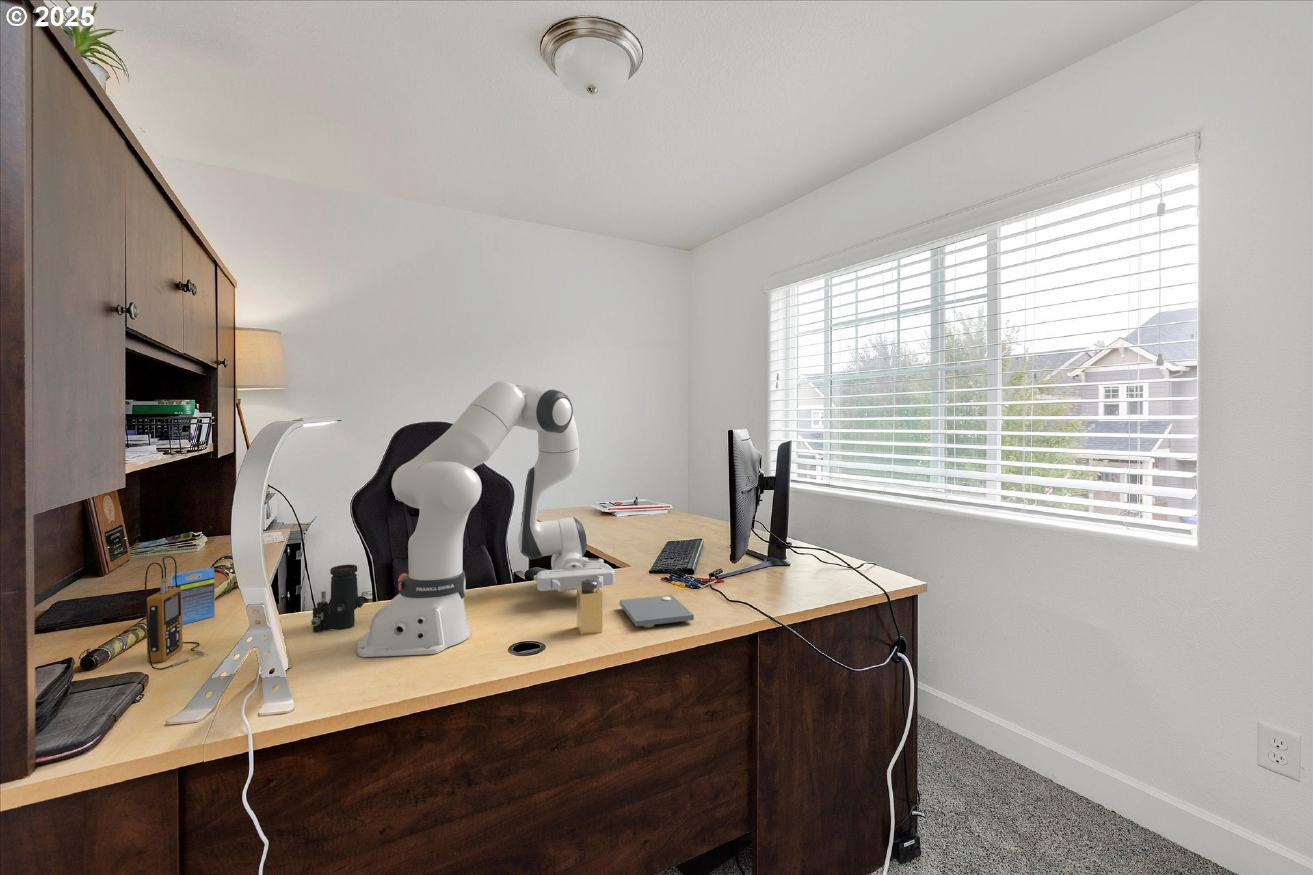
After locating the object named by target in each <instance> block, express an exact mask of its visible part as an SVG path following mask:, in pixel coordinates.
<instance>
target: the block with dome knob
mask: <svg viewBox="0 0 1313 875" xmlns="http://www.w3.org/2000/svg"><path fill="white" fill-rule="evenodd" d="M603 626H604V624H603V592H602V590H601V588H599V587H597V581H596V580H584V581H582V582H581V588H577V589H576V628H577V631H578V632H579V635H590V634H592V635H593V634H599V633H603V632H604V631H603Z"/></svg>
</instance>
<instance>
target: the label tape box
mask: <svg viewBox="0 0 1313 875" xmlns="http://www.w3.org/2000/svg"><path fill="white" fill-rule="evenodd" d="M192 576H196V577H195V578H190V577H192ZM197 576H200V577H197ZM187 578H190V579H187ZM170 581H171V583H170V584H171V586H169V587H168V588H176V584H175V574H171V575H170ZM215 581H216V577H215V567H214V566H212V567H208V568H203V569H197V570H193V571H192V570H191V571H186V572H181V573H177V587H178V588H181V589H182V626H184V625H187V624H188V625H189V624H191V623H194V622H198V621H202V620H206V619H209V618H212V617H213V618H214V617H215V615H216V614H215V612H216V611H215V610H216V609H215V607H216V604H215V603H216V602H215V600H216V598H215V596H216V594H215V593H216V591H215V590H216V588H215V587H216V582H215Z"/></svg>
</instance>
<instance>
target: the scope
mask: <svg viewBox="0 0 1313 875" xmlns="http://www.w3.org/2000/svg"><path fill="white" fill-rule="evenodd" d="M357 572H358V566H357V565H356V564H342V565H335V566H333V567H331V568H330V575H332V576H331V577H330V578H331V579H330V580H331V581H330V599H329V601H327V591H326V590H322V591H321V592H320V593H321V595H320V601H318V603H316V607H313V608H312V618H311V620H310V626H312V633H314V634H315V633H322V631H323V632H324V631H334V630H335V631H336V630H337V631H342V630H349V629H351V628H353V627H355V626H356V625H355V623H356V622H355V616H356V615H355V614H356V613H355V610H357V609H359V608H361V609H362V607H363V605H364V599H363V598H362V597H359V592H358V574H356V573H357Z"/></svg>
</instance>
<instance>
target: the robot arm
mask: <svg viewBox="0 0 1313 875" xmlns="http://www.w3.org/2000/svg"><path fill="white" fill-rule="evenodd" d="M573 412H574V410H573V404H572V402H571V399H570V398H569V396H568V395H567V394H566V393H564V392H562V391H560V390H557V389H548V388H544V387H539V386H535V385H534V386H533V385H522V386H521V385H517V384H516V385H515V384H514V383H512V382H509V381H506V380H499V381H495V382H493V383H492V384H491V385H489V386H488V387H487V388H486V389H484V390H483V391H482V392H481V393H480V394H478V396H477V397H475V399H474V400H472V402H470V404H469V405H468V406H467V407H466V409H465V410H463V412H462V413H461V415H459V417H458V418H457V420H455V421H454V423H452V425H451V426H450V427H449V428H448V429H447V430H446V431H445V432H444V433H443V434H442V435H440V436H439V437H438V438H437V439H436V440H434V441H433V442H432V443H431V444H429V446H427V447H426V448H425V449H424V450H422V451H421V452H420V453H419V454H418V455H416V456H415V457H414V458H412V459H411V460H409V461H408V462H405V463H403V464H401V465H400V466H399V467H398V468H397V469H396V470H395V471H394V473H393V475H392V478H391V489H392V493H393V494H394V495H395V497H396V498H397V499H398V500H400V501H401V502H402V503H404V504H405V505H407V506H408V507H410V508H411V507H412V508H415V509H418V510H419V515H418V519H417V523H416V526H415V531H414V532H413V534H411V536H410V538H409V539H408V545H407V548H408V550H407V552H408V561H407V562H408V573H402V574H400V575H399V576H398V578H397V580H398V581H397V583H398V585H397V586H398V587H397V589H398V594H397V595H396V596H394V597H393V598H392V599H391V600H389V601H388V602H387V603H386V604H384V606H382V607H381V608H380V609H378V610H377V612H375V614H374V615H373V618H371V619H372V620H371V622H370V625H369V631H368V632H367V633H366V634H364V635H363V636H362V637H360V639H359V641H358V642H357V646H356V653H357V655H358V656H359V657H361V658H372V657H373V658H375V657H396V656H398V657H399V656H417V655H433V654H439V653H440V652H442V651H443V650H445V649H447V648H449V647H453V646H455V645H458V644H460V643H463V642H464V641H467V639H468V638H470V636H471V634H472V632H471V631H472V630H471V628H470V626H469V622H468V616H467V611H466V606H465V595H466V574H465V570H463V566H464V565H463V556H464V555H463V551H464V550H463V548H464V533H465V530H466V524H467V522H468V518H469V515H470V512H471V511H472V509H473V508H474V507H475V506H476V505H477V503H478V502H479V500H480V498H481V496H482V495H481V494H482V492H483V491H482V490H483V489H482V488H483V486H482V481H481V478H480V476H479V475H478V473H477V472H476V471H475V470H474V469H475V468H476V467H478V466H480V465H482V464H484V463H485V462H487V461H488V460H489V459H490V458H491V456H493V454H494V453H495V451H497V449H498V448H499V446H500V445H501V444H502V443H503V441H504V440H505V438H506V437H508V435H509V433H510V432H511V431H512V429H513V427H514V426H517V427H521V428H524V429H527V430H531V431H536V433H537V434H538V435H537V436H538V437H537V446H538V456H537V459H536V461H535V464H534V465H533V466H532V467H531V468H530V469H529V468H528V471H527V475H526V480H525V488H524V495H523V504H522V505H523V506H522V513H521V514H522V515H521V522H520V529H519V533H518V538H517V541H518V542H517V543H518V549H519V550H520V553H521V555H522V556H525V557H526V558H528V559H530V560H535V559H540V558H543V557H546V556H551V559H550V561H551V562H550V564H551V569H547V570H546V569H545V570H541V571H539V572H538V573H537V574H535V575H533V580H534V581H535V582H536V590H537V591H540V592H546V591H557V592H565V590H567V591H577V588H581V582H582V581H584V580H596V581H597V587H599V589H602V588H603V586H604V587H605V586H613V585H615V582H616V572H615V570H614V568H612V567H611V566H610V565H609V564H607V563H605V562H604V559H603V558H592V557H591V558H590V557H589V558H588V557H585V556H584V555H585V553H586V552H587V546H588V541H587V535H586V530H585V528H584V525H583V524H582V523H581V521H580V520H579V519H577V518H576V517H574V516H573V517H571V516H570V517H563V518H558V519H552V520H550V519H549V520H544V521H538V514H539V513H538V512H539V505H540V498H541V496H542V494H543V493H544V492H545V491H547V490H548V489H549V488H551V487H553V486H554V485H557V484H558V483H560V482H562V481H565V480H566V479H568V478H569V477H570V476H572V475H573V473H575V471H576V470H577V468H578V467H579V463H580V441H579V433H578V428H577V427H578V426H577V423H576V419H575V416H574V413H573Z"/></svg>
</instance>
